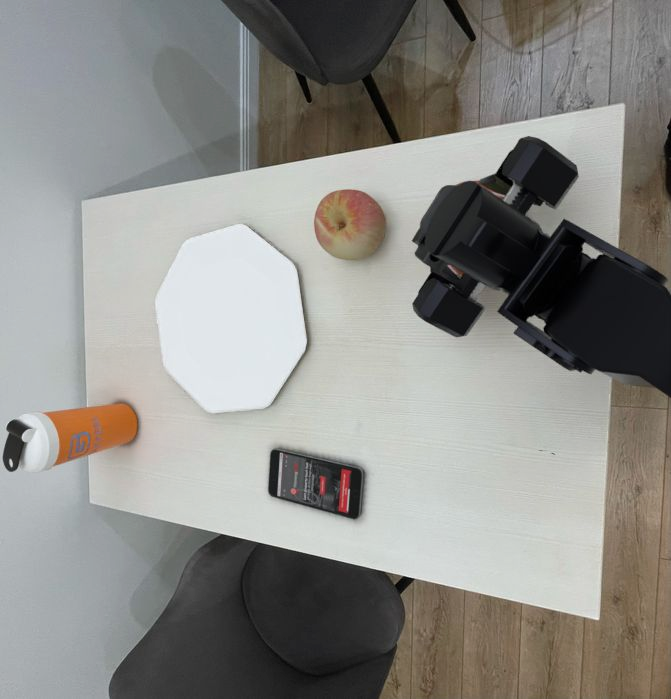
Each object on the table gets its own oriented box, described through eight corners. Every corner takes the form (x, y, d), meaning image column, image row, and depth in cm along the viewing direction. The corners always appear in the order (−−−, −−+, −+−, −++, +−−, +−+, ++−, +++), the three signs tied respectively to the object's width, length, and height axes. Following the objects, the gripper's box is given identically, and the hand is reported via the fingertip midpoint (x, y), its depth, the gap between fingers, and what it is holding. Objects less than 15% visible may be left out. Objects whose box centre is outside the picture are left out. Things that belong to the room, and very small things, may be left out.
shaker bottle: (104, 441, 97) (-9, 469, 80) (107, 393, 96) (-6, 410, 79) (140, 453, 93) (29, 485, 76) (144, 403, 92) (32, 424, 75)
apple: (335, 199, 74) (305, 186, 67) (396, 195, 70) (371, 181, 63) (333, 263, 74) (303, 257, 67) (393, 263, 70) (368, 257, 63)
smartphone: (358, 520, 74) (267, 495, 80) (360, 519, 74) (270, 494, 81) (362, 469, 73) (270, 448, 80) (364, 467, 74) (273, 447, 80)
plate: (320, 402, 76) (315, 403, 75) (176, 416, 89) (169, 417, 88) (293, 210, 77) (287, 208, 75) (153, 251, 89) (146, 250, 88)
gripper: (532, 106, 38) (449, 97, 52) (392, 322, 44) (351, 263, 58) (630, 184, 43) (530, 157, 56) (491, 371, 48) (431, 305, 62)
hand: (457, 221), depth 58 cm, fingers open, 9 cm apart
